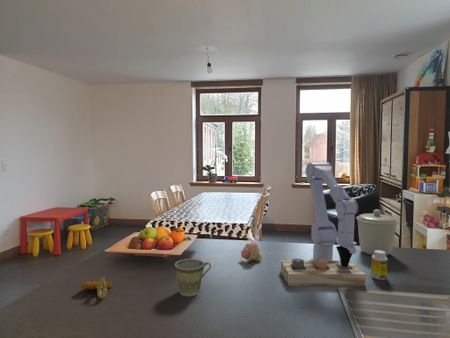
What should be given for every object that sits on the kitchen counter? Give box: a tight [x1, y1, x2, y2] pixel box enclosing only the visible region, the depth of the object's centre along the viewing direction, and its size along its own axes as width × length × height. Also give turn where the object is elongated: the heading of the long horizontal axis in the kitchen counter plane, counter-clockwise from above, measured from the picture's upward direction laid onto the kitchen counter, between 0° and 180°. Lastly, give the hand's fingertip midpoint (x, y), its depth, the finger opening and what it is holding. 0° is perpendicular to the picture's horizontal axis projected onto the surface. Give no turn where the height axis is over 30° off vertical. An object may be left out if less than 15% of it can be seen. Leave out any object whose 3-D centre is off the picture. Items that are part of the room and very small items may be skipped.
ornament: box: [79, 276, 112, 300], centre depth 112 cm, size 7×10×15 cm
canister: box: [355, 209, 399, 257], centre depth 156 cm, size 18×18×21 cm
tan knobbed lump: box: [240, 240, 263, 264], centre depth 143 cm, size 9×10×10 cm
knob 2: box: [338, 264, 351, 269], centre depth 126 cm, size 4×4×4 cm
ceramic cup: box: [174, 258, 212, 297], centre depth 113 cm, size 13×10×10 cm
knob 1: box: [291, 258, 305, 269], centre depth 125 cm, size 4×4×4 cm
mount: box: [280, 259, 367, 287], centre depth 126 cm, size 14×28×4 cm, turn 92°
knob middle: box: [315, 259, 328, 269], centre depth 125 cm, size 4×4×4 cm
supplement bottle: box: [370, 250, 388, 281], centre depth 127 cm, size 6×6×10 cm
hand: (344, 265), depth 126 cm, fingers closed
